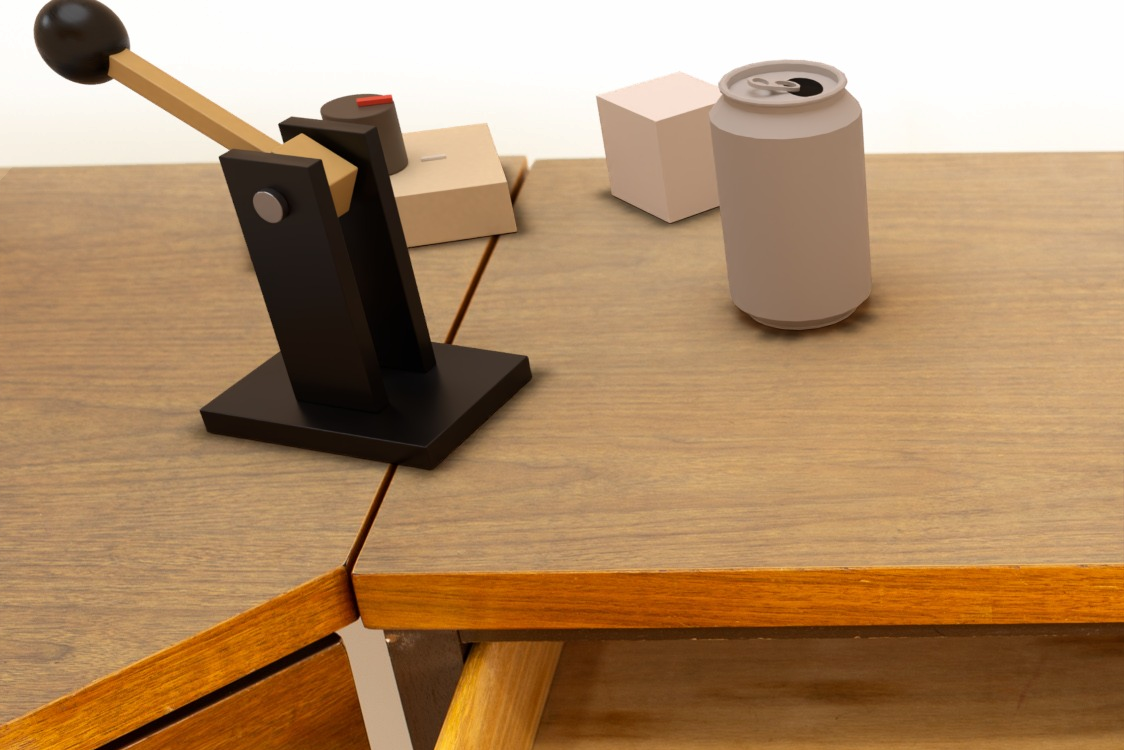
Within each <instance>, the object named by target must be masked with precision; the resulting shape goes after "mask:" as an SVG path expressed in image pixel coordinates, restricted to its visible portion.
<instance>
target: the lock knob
mask: <svg viewBox="0 0 1124 750" xmlns="http://www.w3.org/2000/svg"><path fill="white" fill-rule="evenodd" d="M319 109H320V110H319V113H320V116H321V117H320V118H321V120H327V121H336V122H345V123H353V124H362V125H371V126H377V128H378V132H379V136H380V140H381V144H382V148H383V152H384V156H385V160H386V164H387V168H388V172H389V175H390V174H393V173H396V172H398V171H400V170H402V169H403V168H405V167H406V166H407V164H408V157H407V153H406V149H405V145H404V140H403V136H402V133H403V131H402V128H401V124H400V121H399V116H398V111H397V108H396V103H395V101H394V99H393V95H392V94H377V93H356V94H350V95H345V96H341V97H337V98H333V99H331V100H329V101H327V102H326V103H324V104H323V105H321V106H320V108H319Z"/></svg>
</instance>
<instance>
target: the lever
mask: <svg viewBox="0 0 1124 750" xmlns="http://www.w3.org/2000/svg"><path fill="white" fill-rule="evenodd" d="M33 40H34V44H35V47H36V49H37V52H38V53H39V55H40V57H41V59H42V60H43V61H44V63H45V64H46V65H47V66H48V68H50V69H51V70H52V71H53V72H54V73H56V74H57V75H58V76H60V77H61V78H63V79H65V80H67V81H69V82H72V83H75V84H80V85H87V86H96V85H102V84H105V83H108V82H111V81H113V80H115V81H117V83H119V84H122V85H123V86H124V87H126V88H128V89H130V91H133V92H134V93H136V94H138V96H140V97H142V98H144V99H146V100H147V101H149V102H150V103H152V104H154V105H155V106H157V107H158V108H160V109H162V110H164V111H165V112H167V113H168V114H170V115H171V116H173V117H175V119H178V120H179V121H181V122H183V123H184V124H185V125H187V126H189V127H191V128H192V129H194V130H196V131H198V132H199V133H201V134H202V135H204V136H205V137H207V138H208V139H211V140H212V141H214V142H215V143H217V144H218V145H220V146H222V147H223V148H225V149H226V150H228V151H229V150H231V149H242V150H250V151H258V152H266V153H275V154H283V155H291V156H299V157H308V158H316V159H322V162H323V165H324V169H325V172H326V176H327V180H328V183H329V187H330V190H331V194H332V198H333V201H334V205H335V208H336V212H337V216H338V217H340V216H341V215H343V214H344V213H346V212H347V211H349V207H350V202H351V198H352V193H353V189H354V184H355V180H356V175H357V171H358V168H357V167H356V166H354V165H353V164H351V163H349V162H348V161H346V160H344V159H343V158H341V157H340V156H338V155H336V154H335V153H333V152H332V151H330V150H328V149H327V148H325V147H324V146H322V145H320V144H319V143H317V142H316V141H314V140H312V139H311V138H309V137H308V136H306V135H304V134H299V135H298V136H296V137H294V138H292V139H291V140H289V141H287V142H285V143H280V142H278V140H276V139H274V138H272V137H270V136H269V135H267V134H266V133H264V132H263V131H261V130H259V129H257V128H256V127H254V126H253V125H251V124H250V123H248V122H246V121H244V120H243V119H242V118H240V117H238V116H237V115H235V114H233V113H232V112H230V111H228V110H227V109H225V108H223V106H221V105H219V104H218V103H216V102H214V101H213V100H211V99H209V98H207V97H206V96H205V95H203V94H201V93H200V92H198V91H197V90H195V89H193V88H191V87H190V86H188V85H187V84H185V83H183V82H181V81H180V80H179V79H177V78H175V77H174V76H172V75H171V74H169V73H167V72H165V71H164V70H162V69H161V68H159V67H158V66H156V65H155V64H153V63H151V62H150V61H148V60H146V59H145V58H143V57H142V56H139V55H138V54H136V53H135V52H133V51H132V50H131V41H130V36H129V33H128V30H127V28H126V26H125V24H124V22H123V21H122V20H121V18H120V17H119V16H118V15H117V14H116V12H114V11H113V10H112V9H111V8H110V7H109V6H107V4H104V3H103V2H101V1H99V0H50V1H48V2H47V3H45V4H44V5H43V6H42V7H41V8H40V10H39V11H38V13H37V14H36V17H35V20H34V24H33Z"/></svg>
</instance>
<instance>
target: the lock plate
mask: <svg viewBox="0 0 1124 750" xmlns="http://www.w3.org/2000/svg"><path fill="white" fill-rule="evenodd" d="M402 136H403V140H404V145H405V149H406V153H407V157H408V164H407V166H406V167H405V168H403V169H402V170H400V171H398V172H396V173H393V174H390V175H389V176H390V180H391V184H392V188H393V192H394V196H395V200H396V204H397V208H398V212H399V216H400V220H401V224H402V228H403V232H404V235H405V239H406V243H407V247H408V248H412V247H419V246H426V245H433V244H440V243H448V242H454V241H461V240H467V239H469V240H470V239H474V238H482V237H488V236H496V235H502V234H503V235H504V234H508V233H509V234H510V233H515V232H518V227H517V224H516V218H515V214H514V209H513V204H512V203H513V202H512V199H511V194H510V190H509V189H510V188H509V184H508V181H507V177H506V174H505V172H504V169H503V166H502V162H501V160H500V155H499V154H498V151H497V148H496V145H495V142H494V138H493V136H492V133H491V130H490V126H489V124H488V122H482V123H474V124H466V125H459V126H450V127H442V128H434V129H426V130H417V131H410V132H402Z"/></svg>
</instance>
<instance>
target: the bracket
mask: <svg viewBox="0 0 1124 750" xmlns="http://www.w3.org/2000/svg"><path fill="white" fill-rule="evenodd" d="M277 126H278V129H279V130H278V131H279V133H280V136H281V140H282V144H284V143H285V142H287V141H289V140H291V139H292V138H294V137H296V136H298V135H299V134H304V135H306V136H308V137H309V138H311V139H312V140H314V141H316V142H317V143H319V144H320V145H322V146H324V147H325V148H327V149H328V150H330V151H332V152H333V153H335V154H336V155H338V156H340V157H341V158H343V159H344V160H346V161H348V162H349V163H351V164H353V165H354V166H356V167H357V168H358V171H357V175H356V180H355V184H354V189H353V193H352V198H351V202H350V207H349V211H347V212H346V213H344V214H343V215H341V216H340V217H338V216H337V212H336V208H335V205H334V201H333V198H332V194H331V190H330V187H329V183H328V180H327V176H326V172H325V169H324V165H323V162H322V159H316V158H308V157H299V156H291V155H283V154H275V153H266V152H258V151H250V150H242V149H231V150H228V151H226V152H224V153H222V154H221V155H219V156H218V160H219V163H220V167H221V170H222V173H223V176H224V179H225V182H226V186H227V189H228V193H229V195H230V198H231V201H232V204H233V207H234V211H235V214H236V216H237V220H238V223H239V226H240V229H241V232H242V235H243V239H244V242H245V245H246V248H247V251H248V254H249V257H250V260H251V264H252V267H253V270H254V273H255V276H256V279H257V283H258V286H259V289H260V291H261V295H262V298H263V301H264V304H265V309H266V310H267V314H268V317H269V320H270V323H271V326H272V329H273V333H274V336H275V339H276V343H277V345H278V349H279V350H278V352H276V353H275V354H274V355H272V356H271V357H270V358H268V359H267V360H265V361H264V362H263V363H261V364H260V365H259V366H258V367H256V368H255V369H253V370H252V371H250V372H249V373H247V374H246V375H245V376H243V377H242V378H241V379H239V380H238V381H237V382H235V383H233V384H232V385H230V386H229V387H228V388H227V389H225V390H224V391H223V392H221V393H220V394H219V395H217V396H216V397H215V398H213V399H212V400H210V401H209V402H208V403H206V404H205V405H203V406H202V407H201V408H200V409H198V410H199V414H200V416H201V419H202V422H203V425H204V427H205V430H206V432H207V433H213V434H219V435H225V436H230V437H235V438H236V437H237V438H242V439H249V440H254V441H260V442H266V443H271V444H278V445H283V446H289V447H290V446H291V447H295V448H302V449H307V450H313V451H319V452H326V453H330V454H337V455H343V456H349V457H353V458H355V457H356V458H359V459H360V458H361V459H365V460H366V459H367V460H373V461H379V462H385V463H391V464H396V465H401V466H402V465H403V466H408V467H414V468H418V469H420V468H421V469H426V470H434V469H435V467H437V466H438V465H439V464H440V463H441V462H442V461H443V460H444V459H446V458H447V456H449V455H450V454H451V453H452V452H453V451H454V450H455V449H456V448H457V447H458V446H460V445H461V444H462V443H463V442H464V441H465V440H466V439H467V438H468V437H469V436H470V435H471V434H473V432H475V431H476V430H477V429H478V428H479V427H480V426H481V425H482V424H484V422H486V420H488V419H489V418H490V417H491V416H492V415H494V413H495V412H496V411H497V410H498V409H500V408H501V407H502V406H503V405H504V404H506V402H507V401H508V400H510V399H511V398H512V397H513V396H514V395H515V394H516V393H517V392H518V391H519V390H521V389H522V388H523V386H525V385H526V384H527V383H528V382H529V381H530V380H531V379H532V378H533V374H532V369H531V365H530V360H529V356H528V355H524V354H518V353H511V352H505V351H498V350H491V349H486V348H485V349H484V348H478V347H472V346H471V347H470V346H464V345H457V344H451V343H444V342H438V341H432V339H431V335H430V331H429V327H428V323H427V319H426V316H425V311H424V308H423V307H424V306H423V304H422V300H421V296H420V292H419V288H418V283H417V280H416V276H415V275H416V274H415V272H414V269H413V263H412V260H411V256H410V251H409V247H407V243H406V239H405V235H404V232H403V228H402V224H401V220H400V216H399V212H398V208H397V204H396V200H395V196H394V192H393V188H392V184H391V180H390V176H389V172H388V168H387V164H386V160H385V156H384V152H383V148H382V144H381V140H380V136H379V132H378V128H377V126H371V125H362V124H353V123H345V122H336V121H327V120H322V119H317V118H309V117H300V116H293V115H292V116H290V117H287V118H286V119H284V120H282V121H281V122H279V123H278V124H277Z"/></svg>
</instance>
